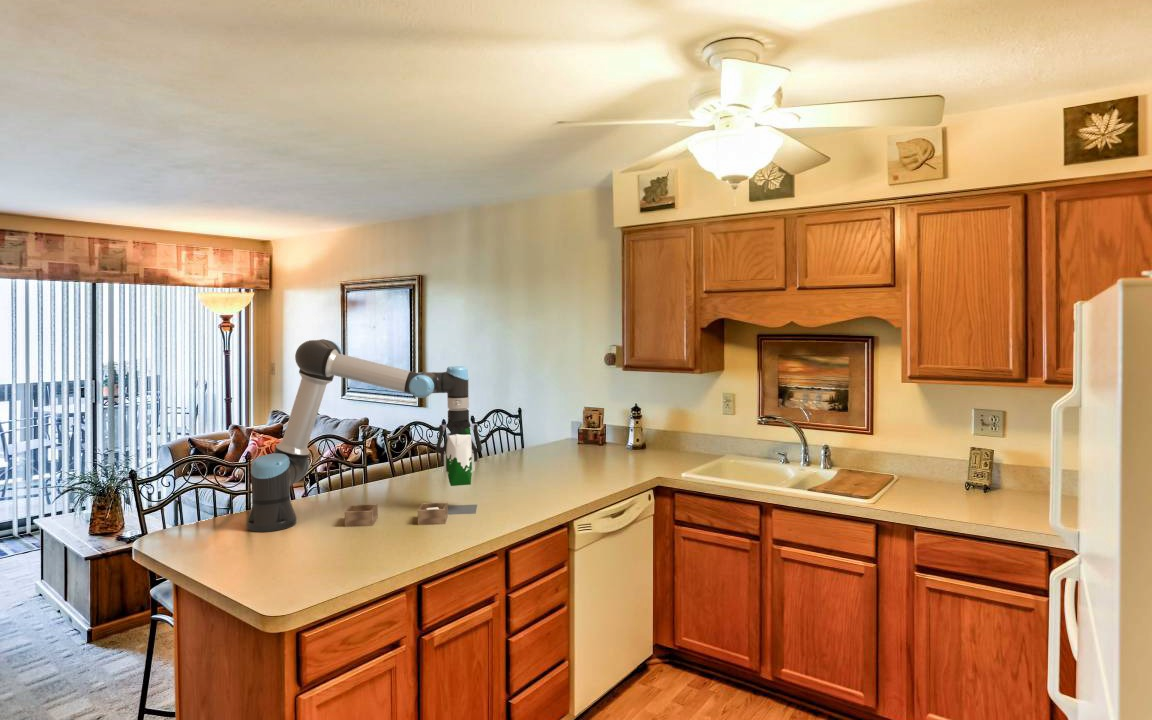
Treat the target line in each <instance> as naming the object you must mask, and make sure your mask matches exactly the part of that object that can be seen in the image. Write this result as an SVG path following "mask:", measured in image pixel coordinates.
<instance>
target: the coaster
mask: <svg viewBox="0 0 1152 720" xmlns="http://www.w3.org/2000/svg"><path fill="white" fill-rule="evenodd" d="M477 508H478V504H456V505H455V504H453V505H451V504H450V505H449V504H448V516H449V515H474V514H476V513H477Z"/></svg>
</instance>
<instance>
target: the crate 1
mask: <svg viewBox="0 0 1152 720" xmlns="http://www.w3.org/2000/svg"><path fill="white" fill-rule="evenodd" d="M378 507H379V505H378V503H377V504H376V503H367V504H350V506H348V507H347V508H346V510H345V511H344V513H343V514H344V528H349V527H351V528H353V527H372V526H374V525H375V523H376V522H377V521H378V519H379V508H378Z"/></svg>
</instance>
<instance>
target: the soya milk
mask: <svg viewBox="0 0 1152 720" xmlns="http://www.w3.org/2000/svg"><path fill="white" fill-rule="evenodd" d="M465 431H466V432H467V434H463V432H462V431H461V429H460V434H455V435H449V434H450V432H449V433H447V434H446V440H447V438H448V440H447V448H446V450H445V453H446V463H447V472H446V473H447V478H448V482H449V485H450V487H457V486H459V487H460V486H469V485H472V474H473V471H472V452H473V450H472V448H471V446H472V443H471V439H472V433H471V427H469V428H468V429H465Z"/></svg>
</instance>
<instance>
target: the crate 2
mask: <svg viewBox="0 0 1152 720" xmlns="http://www.w3.org/2000/svg"><path fill="white" fill-rule="evenodd" d="M448 506H449V504H448V502H429V503H428V502H427V503H426V502H425V503H423V502H422V503H421V504H420V505H419V507H418V508H417V526H424V525H425V526H434V525H446V523H447V519H448V518H449V517H448V516H449V515H448ZM433 507H438V508H439V509H430V510H426V508H433Z"/></svg>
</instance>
